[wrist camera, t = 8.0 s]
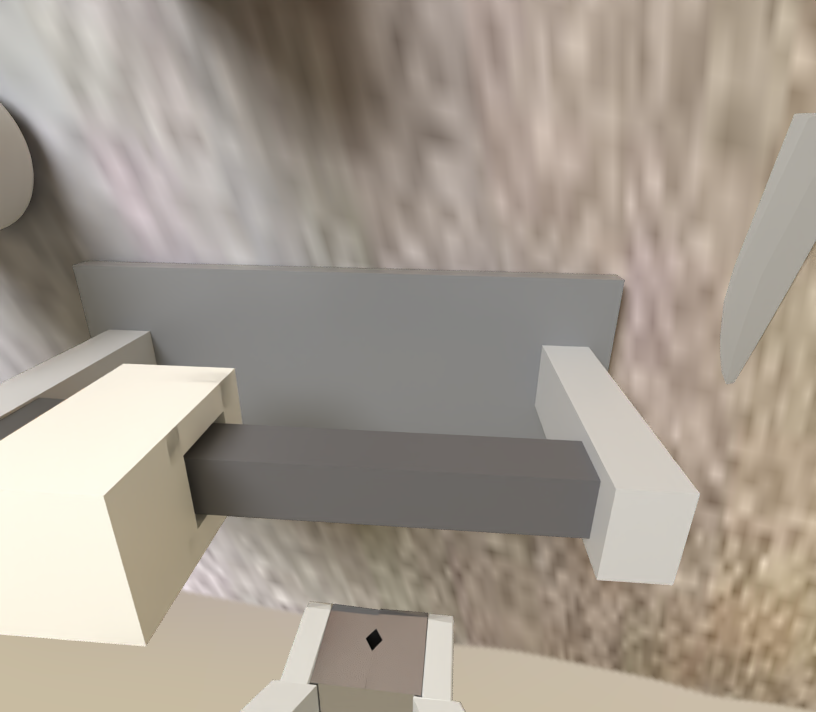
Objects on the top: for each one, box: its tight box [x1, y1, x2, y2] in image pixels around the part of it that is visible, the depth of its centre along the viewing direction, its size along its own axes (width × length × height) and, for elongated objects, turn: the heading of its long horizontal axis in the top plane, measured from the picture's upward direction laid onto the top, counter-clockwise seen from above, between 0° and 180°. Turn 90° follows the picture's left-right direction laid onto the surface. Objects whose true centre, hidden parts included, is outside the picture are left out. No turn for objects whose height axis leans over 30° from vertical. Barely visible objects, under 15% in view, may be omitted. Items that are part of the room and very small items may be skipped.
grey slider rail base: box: [0, 261, 700, 585], centre depth 18 cm, size 24×9×11 cm, turn 89°
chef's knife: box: [720, 113, 816, 384], centre depth 19 cm, size 19×1×3 cm
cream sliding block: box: [0, 364, 242, 646], centre depth 14 cm, size 4×5×7 cm
